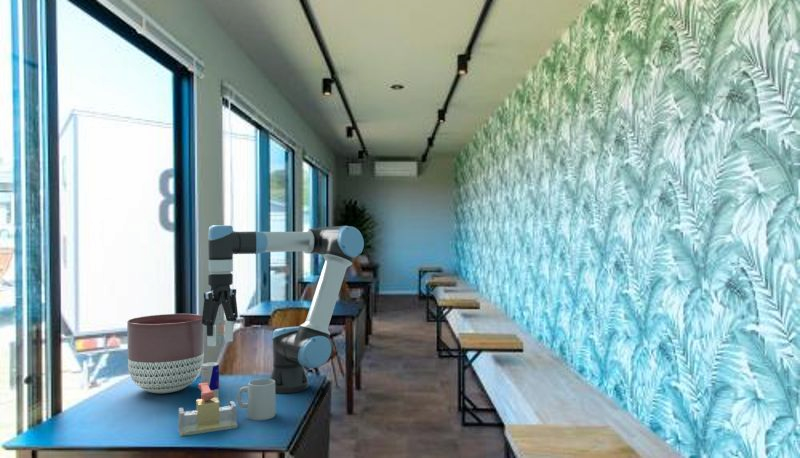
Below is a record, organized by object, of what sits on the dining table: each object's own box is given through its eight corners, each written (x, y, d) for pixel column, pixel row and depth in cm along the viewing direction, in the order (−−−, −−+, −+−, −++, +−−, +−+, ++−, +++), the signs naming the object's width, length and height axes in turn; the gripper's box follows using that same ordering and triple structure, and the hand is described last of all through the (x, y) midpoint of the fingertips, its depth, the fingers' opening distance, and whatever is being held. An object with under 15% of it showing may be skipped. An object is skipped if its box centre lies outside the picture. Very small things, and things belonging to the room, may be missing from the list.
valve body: (232, 418, 174) (232, 393, 174) (237, 427, 165) (237, 401, 166) (178, 426, 167) (178, 400, 167) (180, 436, 158) (180, 408, 159)
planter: (219, 387, 210) (219, 316, 211) (155, 405, 188) (155, 326, 188) (175, 378, 225) (175, 312, 225) (111, 393, 202) (112, 320, 202)
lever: (214, 400, 165) (214, 392, 165) (202, 402, 164) (202, 394, 164) (208, 389, 178) (208, 381, 178) (197, 390, 176) (197, 383, 176)
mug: (278, 411, 180) (278, 378, 181) (271, 420, 172) (272, 385, 172) (241, 412, 181) (241, 378, 181) (233, 420, 172) (233, 385, 172)
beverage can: (213, 411, 181) (213, 365, 181) (197, 410, 182) (198, 365, 182) (222, 406, 187) (222, 362, 187) (207, 405, 188) (207, 361, 188)
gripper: (230, 270, 189) (230, 337, 188) (188, 274, 169) (188, 349, 169) (249, 271, 186) (249, 338, 186) (209, 275, 166) (208, 350, 166)
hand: (220, 343), depth 177 cm, fingers open, 8 cm apart
